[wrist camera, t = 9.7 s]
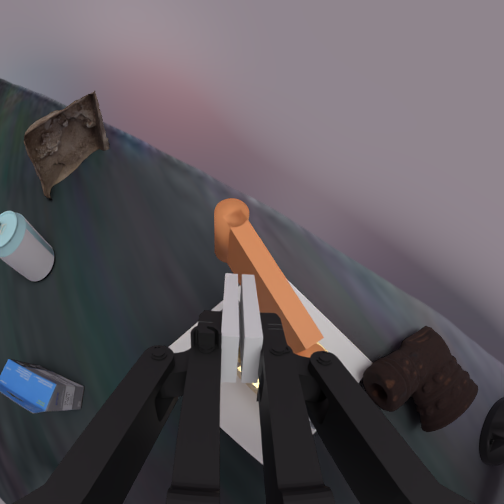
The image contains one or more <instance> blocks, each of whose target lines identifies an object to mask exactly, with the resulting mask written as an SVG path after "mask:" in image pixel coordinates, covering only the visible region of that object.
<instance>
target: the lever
mask: <svg viewBox="0 0 504 504" xmlns="http://www.w3.org/2000/svg"><path fill="white" fill-rule="evenodd" d="M248 218H249V209H248V207H247V206H246V204H245V203H244V202H242V201H240V200H238V199H233V198H229V199H225V200H223V201H221V202H219V203H218V204H217V206H216V208H215V212H214V221H215V254H216V256H217V258H218V259H219V260H221V261H223V262H226V263H228V265H229V267H230V269H231V270H232V272H233V274H238V282H239V284H240V285H241V279H242V274H248V275H254V277H255V284H256V291H257V298H258V305H259V312H261V313H276V314H277V315H278V316H279V317H280V318H281V322H282V326H283V330H284V334H285V338H286V342H287V345H288V346H290V347H291V349H292V350H293V353H295V354H297V355H300V356H304V357H309V358H310V356H311V355H312V354H313V353H314V352H317V351H325V350H324V349H323V348H322V347H321V346H320V345H318V344H317V342H318V341H320V340H321V339H323V338H324V337H323V335H322V334H321V332H320V330H319V329H318V327H317V326H316V324H315V323H314V321H313V319H312V318H311V316H310V315H309V313H308V312H307V310H306V309H305V307H304V305H303V304H302V302H301V301H300V299H299V298H298V296H297V295H296V293H295V291H294V290H293V288H292V287H291V285H290V284H289V282H288V281H287V279H286V277H285V276H284V274H283V273H282V271H281V270H280V268H279V267H278V265H277V264H276V262H275V261H274V259H273V257H272V256H271V254H270V253H269V251H268V250H267V248H266V247H265V245H264V244H263V242H262V241H261V239H260V238H259V236H258V235H257V233H256V232H255V230H254V228H253V227H252V225H251V224H250V222H249V221H248Z"/></svg>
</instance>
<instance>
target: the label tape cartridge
mask: <svg viewBox="0 0 504 504" xmlns="http://www.w3.org/2000/svg"><path fill="white" fill-rule="evenodd" d="M6 391H7V392H6ZM0 392H1V393H2V394H4V395H5V396H6V397H8V398H9V399H11V400H12V401H14V402H15V403H17V404H19V405H20V406H22V407H23V408H25V409H26V410H28V411H30V412H31V413H33V414H35V413H40V412H47V411H63V410H76V409H81V405H82V399H83V393H84V386H82V385H80V384H78V383H75V382H73V381H71V380H69V379H67V378H64V377H62V376H60V375H58V374H56V373H54V372H52V371H50V370H48V369H46V368H44V367H42V366H39V365H34V364H30V363H25V362H21V361H17V360H12V359H8V361H7V363H6V365H5V367H4V369H3V371H2V373H1V375H0ZM8 392H10V393H11V394H13V395H14V396H16V397H17V398H19V399H21V400H22V401H20V400H18V399H17V398H15V397H12V396H11V394H9V393H8Z"/></svg>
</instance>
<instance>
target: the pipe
mask: <svg viewBox="0 0 504 504" xmlns="http://www.w3.org/2000/svg"><path fill="white" fill-rule="evenodd" d="M363 383H364V386H365V389H366V391H367V393H368V395H369V397H370V398H371V399H372V400H373V401H374V402H375V403H376V404H377V405H378V406H379V407H381V408H382V409H383V410H386V411H389V412H392V411H395V410H397V409H398V408H399V407H400V406H402V405H403V404H404V402H406V401H407V400H408V399H409V397H410V396H411V397H413V399H414V402H415V404H417V407H416V410H417V412H419V413H420V422H421V428H422V430H423V431H426V432H431V431H435V430H438V429H441V428H443V427H445V426H447V425H448V424H450V423H452V422H453V421H455V420H456V419H457V418H458V417H459V416H461V415H462V414H463V413H464V412H465V411H466V410H467V408H468V407H469V406H470V405H471V403H472V402H473V400H474V399H475V397H476V395H477V392H478V386H477V385H476V384H475V383H474V382H473V380H471V379H470V378H469V374H468V372H466V371H463V370H462V368H461V366H460V365H459V364H457V361H456V358H455V357H454V356H451V353H450V350H449V348H448V346H447V345H446V343H445V342H444V340H443V339H442V337H441V336H440V335H439V334H437V333H436V332H435V331H434V330H433V329H432V328H430V327H427V326H425V327H423V328H422V329H421V330H419V331H418V332H416V333H415V334H413V335H411V336H410V337H408V338H406V339H405V340H404V341H403V342H402V344H401V347H400V349H398V350H397V351H394V352H392V353H391V354H390V355H388V356H386V357H384V358H380V359H378V360H377V361H375V362H373V363H372V364H371V366H369V367H368V368H367V369H366V370H365V371H364V373H363Z"/></svg>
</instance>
